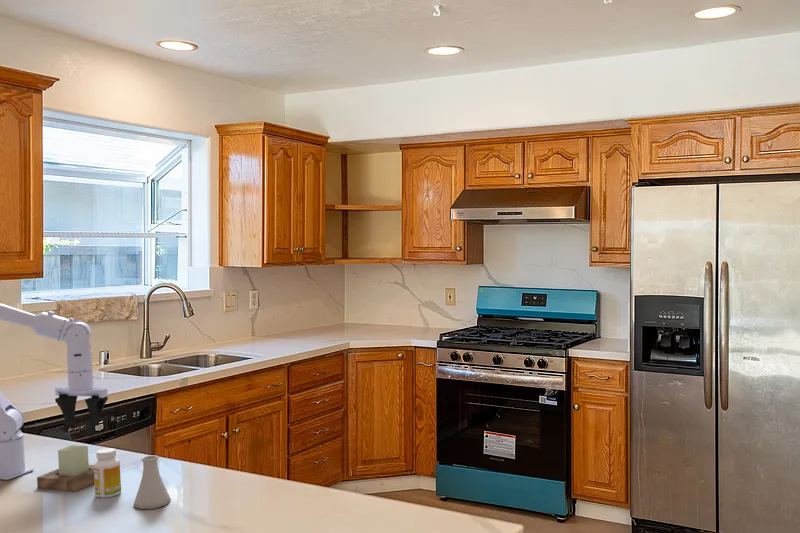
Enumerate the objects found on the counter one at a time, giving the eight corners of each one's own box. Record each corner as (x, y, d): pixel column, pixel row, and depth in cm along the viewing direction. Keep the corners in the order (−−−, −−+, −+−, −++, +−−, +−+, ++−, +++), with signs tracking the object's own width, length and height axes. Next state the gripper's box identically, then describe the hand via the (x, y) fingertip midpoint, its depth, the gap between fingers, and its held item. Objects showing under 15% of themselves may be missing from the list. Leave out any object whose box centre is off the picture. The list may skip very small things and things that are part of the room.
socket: (37, 487, 174) (36, 477, 174) (73, 473, 185) (72, 463, 184) (75, 491, 170) (75, 480, 170) (110, 476, 181) (109, 466, 181)
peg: (59, 484, 176) (57, 450, 176) (74, 478, 180) (72, 445, 180) (75, 486, 175) (73, 451, 174) (89, 480, 179) (87, 446, 179)
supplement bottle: (125, 490, 170) (123, 446, 170) (114, 498, 165) (112, 453, 165) (102, 490, 171) (100, 447, 171) (90, 498, 166) (88, 453, 165)
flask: (177, 499, 163) (175, 453, 162) (155, 511, 156) (153, 463, 155) (148, 497, 165) (146, 451, 165) (126, 508, 158) (124, 461, 158)
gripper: (114, 368, 191) (117, 422, 191) (68, 367, 196) (71, 419, 196) (94, 373, 184) (97, 429, 185) (47, 372, 189) (50, 426, 189)
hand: (82, 425), depth 190 cm, fingers open, 7 cm apart
